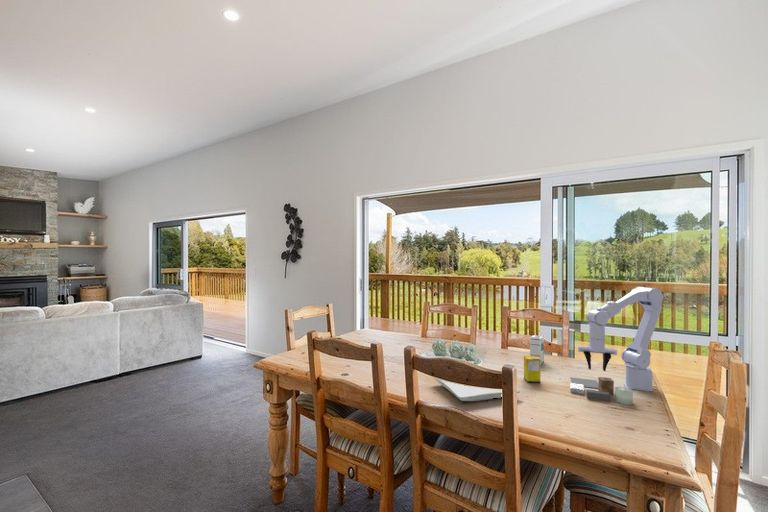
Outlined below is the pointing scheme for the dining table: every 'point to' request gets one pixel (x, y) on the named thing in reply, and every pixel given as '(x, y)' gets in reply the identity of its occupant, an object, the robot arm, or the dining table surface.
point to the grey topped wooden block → (577, 388)
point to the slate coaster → (585, 382)
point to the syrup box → (537, 347)
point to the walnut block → (606, 385)
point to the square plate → (470, 392)
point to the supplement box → (532, 369)
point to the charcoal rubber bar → (598, 395)
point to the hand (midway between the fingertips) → (596, 369)
